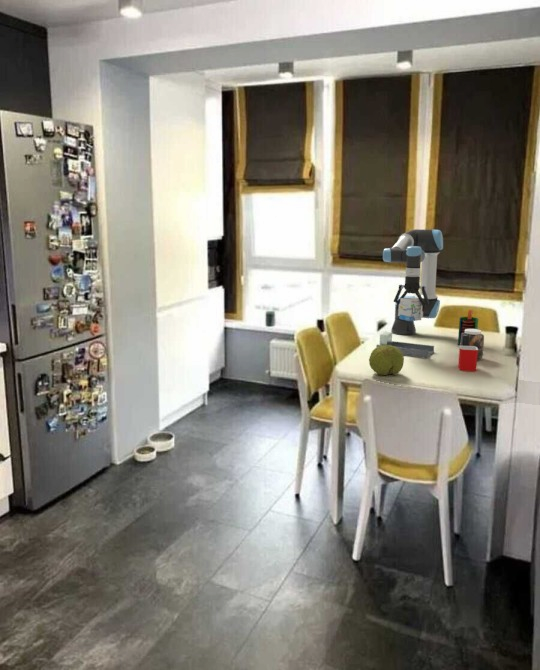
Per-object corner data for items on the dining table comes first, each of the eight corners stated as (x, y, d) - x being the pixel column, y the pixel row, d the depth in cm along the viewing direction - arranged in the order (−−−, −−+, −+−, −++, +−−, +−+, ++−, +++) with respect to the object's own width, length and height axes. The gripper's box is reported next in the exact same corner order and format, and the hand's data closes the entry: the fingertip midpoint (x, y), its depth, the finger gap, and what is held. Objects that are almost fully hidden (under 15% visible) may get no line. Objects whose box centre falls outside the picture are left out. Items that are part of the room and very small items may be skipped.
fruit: (389, 380, 261) (374, 351, 261) (372, 384, 274) (358, 355, 274) (414, 365, 267) (400, 336, 267) (397, 369, 280) (383, 341, 280)
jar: (455, 358, 301) (457, 330, 298) (464, 354, 310) (466, 327, 306) (477, 362, 293) (479, 333, 290) (486, 358, 302) (488, 330, 299)
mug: (477, 371, 276) (478, 350, 274) (459, 370, 278) (460, 349, 275) (473, 365, 288) (475, 344, 285) (456, 364, 289) (457, 343, 287)
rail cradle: (384, 346, 327) (385, 330, 325) (433, 352, 314) (434, 335, 312) (376, 351, 315) (376, 335, 313) (427, 357, 302) (428, 340, 300)
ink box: (409, 321, 304) (410, 299, 302) (398, 318, 311) (399, 297, 309) (421, 320, 308) (423, 298, 306) (411, 317, 315) (412, 296, 313)
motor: (457, 345, 329) (459, 311, 325) (458, 342, 338) (460, 308, 333) (476, 347, 326) (478, 312, 322) (476, 344, 334) (479, 310, 330)
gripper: (388, 275, 307) (386, 315, 312) (433, 277, 296) (430, 319, 300) (393, 274, 314) (391, 313, 318) (436, 276, 302) (434, 317, 307)
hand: (410, 316), depth 309 cm, fingers closed on ink box, 11 cm apart
